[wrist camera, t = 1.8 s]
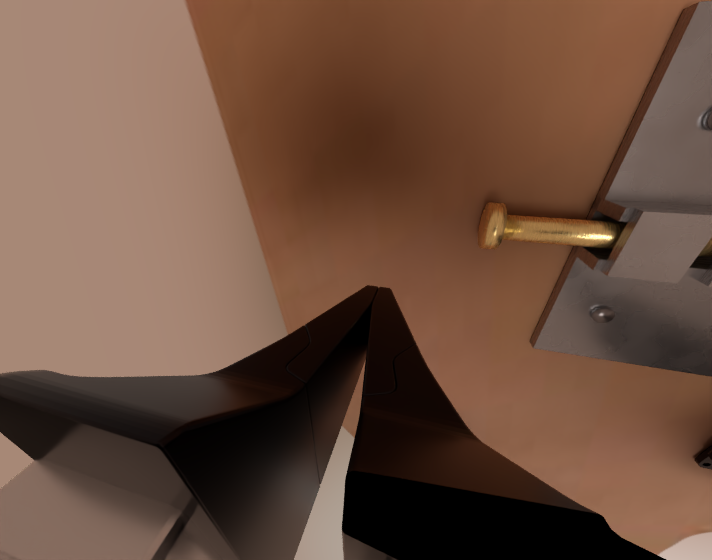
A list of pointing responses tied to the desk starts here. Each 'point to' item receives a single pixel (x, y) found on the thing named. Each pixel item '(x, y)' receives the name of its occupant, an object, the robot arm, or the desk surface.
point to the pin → (550, 230)
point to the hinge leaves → (650, 227)
